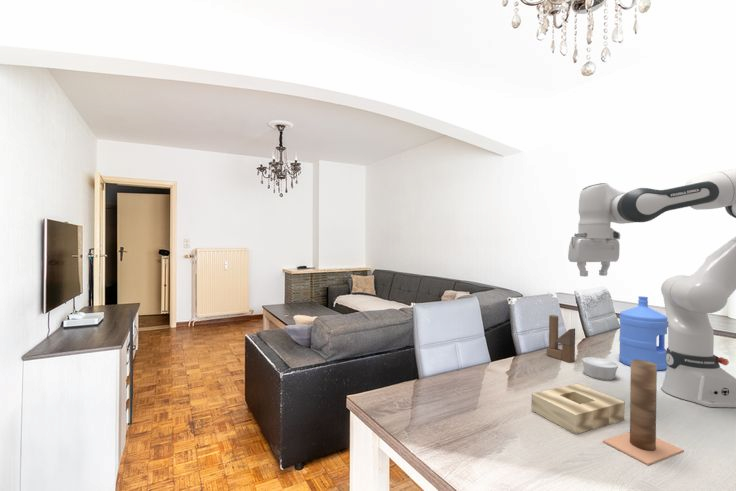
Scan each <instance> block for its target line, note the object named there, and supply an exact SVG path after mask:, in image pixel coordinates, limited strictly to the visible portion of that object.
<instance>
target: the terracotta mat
mask: <svg viewBox="0 0 736 491" xmlns="http://www.w3.org/2000/svg"><path fill="white" fill-rule="evenodd" d="M602 443H604V444H606V445H607V446H610V447H611V448H614V449H616V450H618V451H619V452H621V453H623V454H625V455H627V456H628V457H629V456H630V458H633V459H634V460H637V461H639V462H640V463H642V464H644V465H646V466H650V465H653V464H656V463H658V462H661V461H663V460H666V459H668V458H671V457H673V456H676V455H679V454H681V453H684V451H685V450H684V449H682V448H680V447H679V446H675V445H674V444H671V443H669V442H667V441H665V440H663V439H661V438H658V437H656V450H654V451H646V450H642V449H639V448H637V447H635V446H633V445H632V444H631V443H630V431H628V432H624V433H621V434H619V435H615V436H612V437H609V438H606V439H604V440H602Z"/></svg>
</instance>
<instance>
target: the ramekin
mask: <svg viewBox="0 0 736 491" xmlns="http://www.w3.org/2000/svg"><path fill="white" fill-rule="evenodd" d="M581 361H582V365H583V371H584V373H585V375H587V376H588V377H590V378H593V379H597V380H602V381H612V380H614V379H615V378H616V374H617V370H618V367H619V365H618V364H617V362H614V361H612V360H610V359H605V358H601V357H594V356H592V357H591V356H590V357H589V356H587V357H583V358H581Z"/></svg>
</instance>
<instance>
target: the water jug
mask: <svg viewBox="0 0 736 491" xmlns="http://www.w3.org/2000/svg"><path fill="white" fill-rule="evenodd" d="M648 299H649V297H648V296H638V300H637V302H638V305H637V306H636V307H632V308H629V309H624V310H621V311H620V312H619V336H618V337H619V354H618V359H619V361H620V362H621V363H622V364H624V365H627V366H629V367H631V360H643V361H648V362H652V363H654V364H656V365H657V371H663V370H664V371H665V370H667V363H666V350H667V348H666V347H665V346H666V345H665V340H666V337H665V336H666V335H668V320H667V315H666V314H665V315H664V314H663V313H660V312H659V311H657V310H654V309H652V308H650V307H649V305H648V304H649V300H648ZM657 340H658V345H657Z"/></svg>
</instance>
